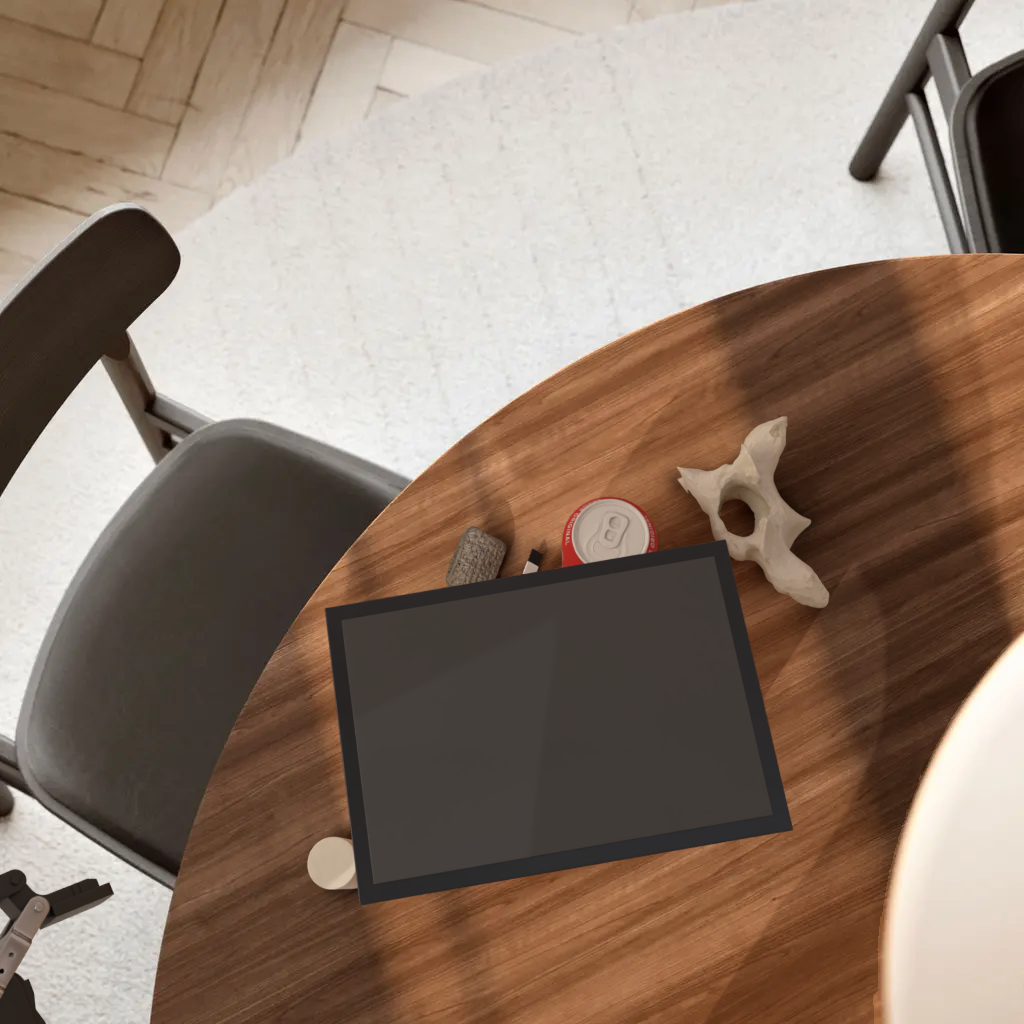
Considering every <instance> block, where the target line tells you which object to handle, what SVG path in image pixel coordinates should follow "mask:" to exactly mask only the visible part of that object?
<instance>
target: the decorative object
mask: <svg viewBox="0 0 1024 1024" xmlns="http://www.w3.org/2000/svg"><path fill="white" fill-rule="evenodd" d="M787 427H788V416H780V417H777V418H775V419H772V420H768V421H766V422H763V423H760V424H758V425H757V426H755V427H754V428H753V429H752V430H751V431H750V432H749V434H748V435H747V436H746V438H745V439H744V442H743V443H741V444H740V451H739V454H738V456H737V458H736V459H735V460H734V461H733V463H732V464H729V463H724V464H722V465H721V466H719V467H717V468H715V469H713V470H712V469H711V470H704V469H701V468H692V467H691V468H688V467H687V468H685V467H681V466H676V469H677V470H678V472H679V473H680V476H681V477H679V478H677V481H678V482H679V484H680V485H681V486H682V488H683V489H684V490H685V492H686V494H689V492H690V494H691V495H692V496H693V497H694V498H695V499H696V501H697V503H698V504H699V506H700V508H701V511H702V512H704V513H705V514H706V515H708V516H709V521H710V527H711V533H712V536H713V538H714V541H718V540H724V539H725V540H726V542H727V546H728V551H729V555H730V558H731V559H734V560H735V561H739V562H745V561H750V562H755V563H757V564H758V565H759V567H761V568H762V570H763V573H764V577H765V579H766V580H767V581H768V582H769V583H770V584H772V586H773V588H774V589H775V590H776V592H778V594H783V595H787V596H790V597H791V599H793V600H794V601H796V602H797V603H799V604H800V605H803V606H808V607H812V608H816V609H823V608H824V609H825V607H827V605H829V600H830V592H829V591H828V590H827V588H826V586H825V585H824V584H823V583H822V581H821V580H820V577H819V576H818V575H817V573H816V572H815V571H814V569H813V568H812V567H811V566H810V565H808V564H807V563H806V562H804V561H802V559H800V558H799V557H797V556H796V555H795V554H794V553H793V552H792V551H791V548H792V546H793V544H794V542H795V540H796V539H797V537H799V535H800V534H801V533H802V532H803V531H804V530H806V529H807V528H808V527H809V526H810V525H811V523H812V520H811V519H810V518H807V517H805V516H802V515H801V514H799V512H796V511H795V510H794V509H793V508H792V507H790V506H789V504H788V503H787V502H785V500H784V499H783V498H782V497H781V495H780V493H779V491H778V489H777V486H776V484H775V481H774V475H775V472H776V469H777V466H778V464H779V461H780V457H781V455H782V454H783V452H784V451H785V447H786V446H787V442H786V441H787ZM732 500H738V501H739V500H740V501H742V502H744V503H745V504H747V506H748V507H749V508H750V510H751V511H752V512H753V514H754V515H753V517H754V519H755V520H754V530H753V532H752V534H750V535H748V536H739V535H736V534H734V533H731V532H730V531H729V530H728V529H727V528H726V525H725V523H724V521H723V520H722V518H721V517H720V516H721V515H722V512H721V510H722V507H723V505H724V503H726V502H728V501H732Z"/></svg>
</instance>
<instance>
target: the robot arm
mask: <svg viewBox="0 0 1024 1024" xmlns="http://www.w3.org/2000/svg"><path fill="white" fill-rule="evenodd" d="M27 880H28V879H27V875H26V874H25V872H24V871H23V870H20V869H18V868H16V869H15V868H14V869H13V868H12V869H10V870H8V871H5V872H3V873H1V874H0V910H1V911H2V912H3V913H4V914H5V915H6V916H7V918H8V921H7V922H6V924H5V926H4V927H3V929H2V931H1V932H0V1024H47V1022H46V1020H45V1019H44V1018H43V1017H42V1015H41V1014H40V1012H39V1011H38V1009H37V1006H36V998H35V997H36V996H35V991H34V988H33V986H32V983H31V981H30V979H29V978H27V979H24V977H22V975H20V974H19V973H18V972H16V971H17V969H18V968H19V966H20V964H21V963H22V961H23V959H24V958H25V956H26V954H27V953H28V951H29V949H30V948H31V946H32V945H33V940H34V938H35V936H36V935H37V933H38V931H41V930H44V929H46V928H48V927H50V926H53V925H55V924H58V923H60V922H62V921H64V920H67V919H70V918H72V917H74V916H77V915H79V914H81V913H84V912H86V911H88V910H91V909H93V908H96V907H98V906H100V905H101V904H103V903H105V902H106V901H107V900H109V899H110V898H111V897H112V896H114V895H115V892H114V890H113V887H112V885H111V883H110V882H105V883H103V884H101V885H100V883H99V881H98V879H97V878H85V879H83V880H80V881H78V882H75V883H72V884H70V885H67V886H64V887H62V888H60V889H57V890H54V891H52V892H50V893H47V894H46V893H45V894H39V893H36V892H35V891H34V890H33V889H32V888H31V886H29V885H28V883H27Z"/></svg>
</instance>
